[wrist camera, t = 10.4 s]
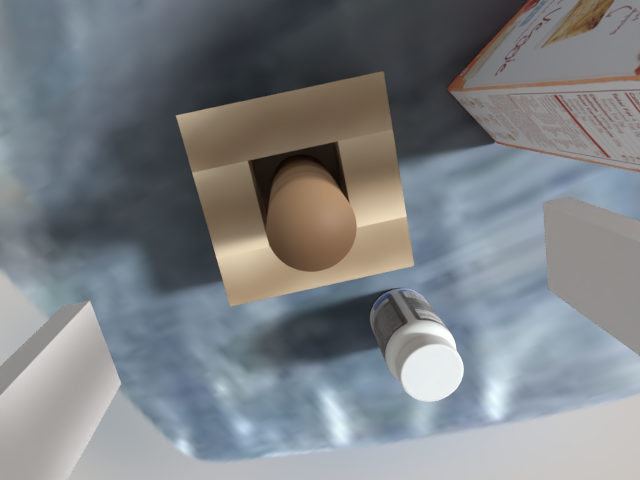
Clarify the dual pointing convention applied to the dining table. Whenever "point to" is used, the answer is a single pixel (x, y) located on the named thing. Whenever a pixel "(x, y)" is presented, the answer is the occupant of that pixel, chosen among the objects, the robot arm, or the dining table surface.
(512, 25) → the cracker box
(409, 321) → the pill bottle
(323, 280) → the bore block
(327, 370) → the dining table surface
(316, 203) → the pin
